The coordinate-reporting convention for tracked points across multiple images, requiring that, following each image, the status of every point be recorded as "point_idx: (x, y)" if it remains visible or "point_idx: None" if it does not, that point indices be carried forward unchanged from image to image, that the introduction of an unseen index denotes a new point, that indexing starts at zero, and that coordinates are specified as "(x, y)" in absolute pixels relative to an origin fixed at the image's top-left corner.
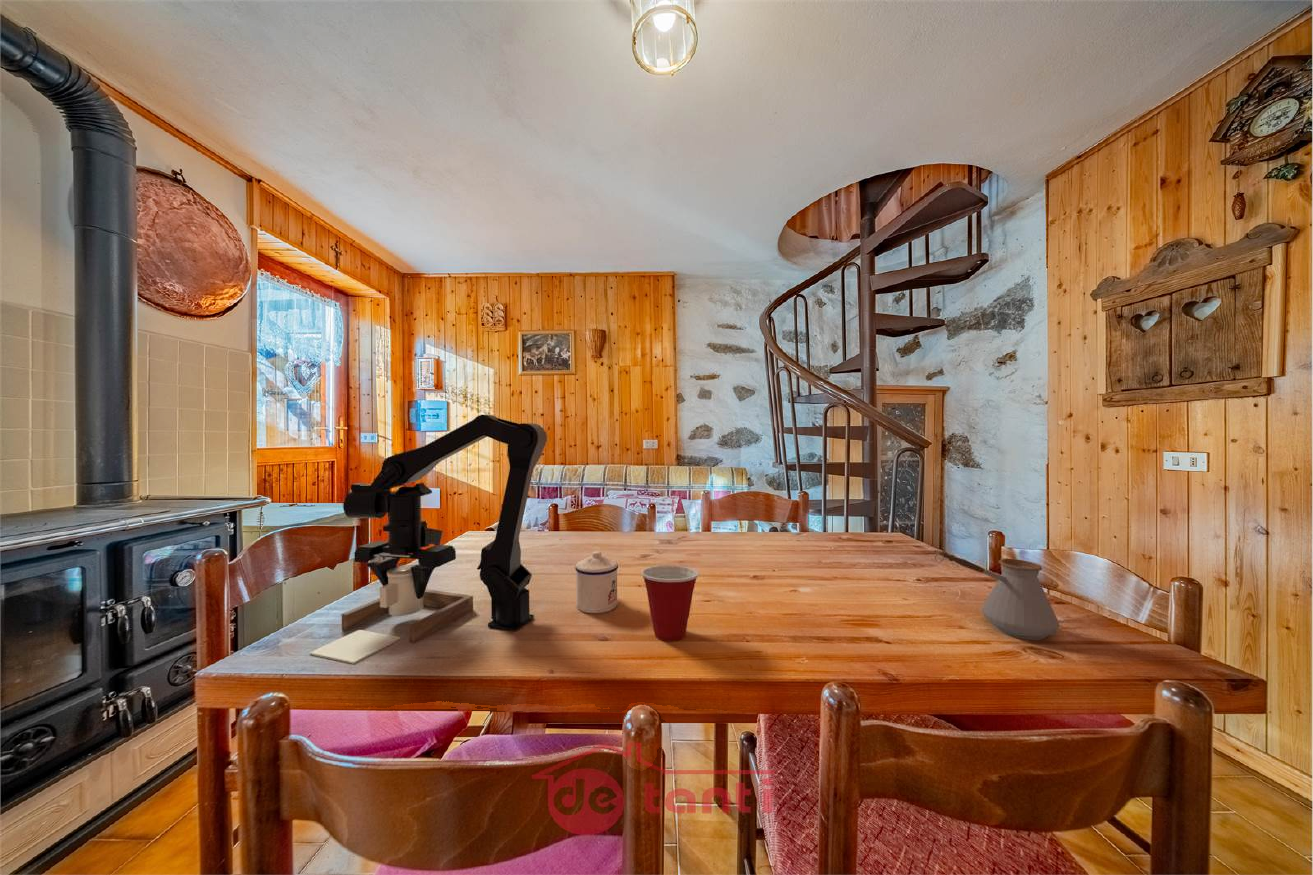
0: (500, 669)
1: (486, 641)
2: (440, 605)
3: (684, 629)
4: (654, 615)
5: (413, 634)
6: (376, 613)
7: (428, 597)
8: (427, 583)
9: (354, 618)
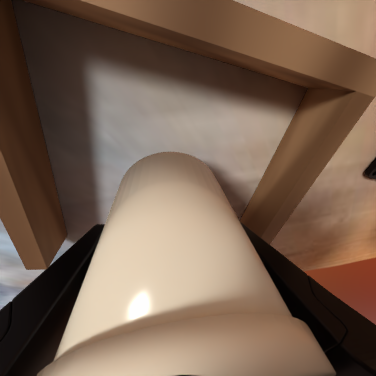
0: (357, 256)
1: (351, 215)
2: (217, 58)
3: None
4: None
5: None
6: (44, 172)
7: (153, 32)
8: (289, 262)
9: (52, 237)
